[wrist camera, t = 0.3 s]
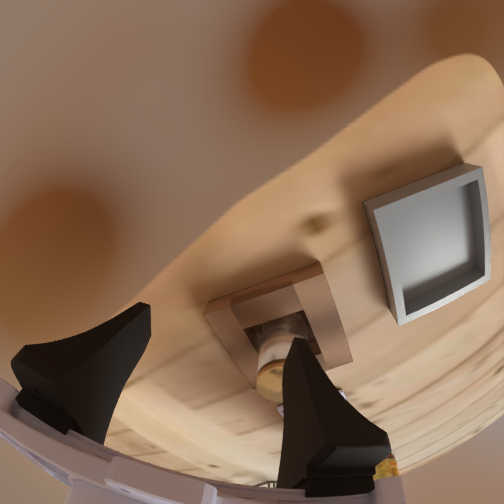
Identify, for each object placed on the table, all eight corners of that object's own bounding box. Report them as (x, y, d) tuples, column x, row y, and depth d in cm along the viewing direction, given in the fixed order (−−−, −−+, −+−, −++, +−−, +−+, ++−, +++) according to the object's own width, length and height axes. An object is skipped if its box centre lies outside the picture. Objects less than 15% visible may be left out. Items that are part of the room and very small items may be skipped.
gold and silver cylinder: (311, 336, 24) (319, 394, 18) (271, 348, 25) (268, 407, 19) (297, 303, 23) (303, 362, 17) (254, 318, 24) (246, 376, 17)
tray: (476, 267, 20) (490, 279, 18) (389, 310, 23) (398, 326, 20) (464, 162, 17) (482, 166, 15) (362, 201, 19) (373, 210, 17)
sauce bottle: (394, 458, 36) (408, 539, 18) (363, 467, 37) (373, 549, 19) (394, 447, 34) (412, 537, 15) (361, 458, 35) (372, 549, 17)
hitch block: (349, 347, 25) (353, 361, 23) (255, 375, 27) (254, 389, 25) (319, 261, 21) (323, 273, 19) (208, 301, 24) (203, 315, 22)
